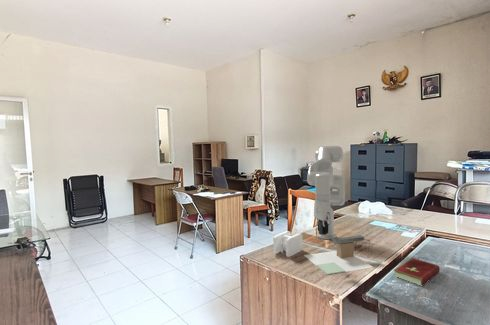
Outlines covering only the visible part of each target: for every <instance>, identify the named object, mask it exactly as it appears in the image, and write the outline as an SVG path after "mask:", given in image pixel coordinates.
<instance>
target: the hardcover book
mask: <svg viewBox="0 0 490 325" xmlns="http://www.w3.org/2000/svg"><path fill="white" fill-rule="evenodd" d="M440 270H441V269H440V265H438V264H435V263H432V262H429V261H425V260H422V259H417V258H414V257H411V258H410V259H408V260H407V261H404V262H403V263H402V264H400V265H398V266H397V267H395V268H394V269H393V271H394V277H395V276H396V277H395V278H397V277H399V278H402V279H405V280H408V281H411V282H414V283H417V284H420V285H423V284H424V285H426V284H427V283H428V282H429V281H430V280H432V279H433V278H434V277H435V276H437V275H438V274H439V273H440ZM438 272H439V273H438ZM437 273H438V274H437ZM436 274H437V275H436ZM433 276H434V277H433ZM432 277H433V278H432ZM399 278H398V279H399ZM431 278H432V279H431ZM402 279H401V280H402ZM405 280H404V281H405ZM428 280H429V281H428ZM408 281H407V282H408ZM427 281H428V282H427ZM411 282H410V283H411ZM426 282H427V283H426ZM425 283H426V284H425ZM424 285H423V286H424Z"/></svg>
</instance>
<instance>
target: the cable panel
mask: <svg viewBox="0 0 490 325" xmlns="http://www.w3.org/2000/svg"><path fill="white" fill-rule="evenodd" d="M354 246H355V243H354V242H349V243H341V244H336V250H332V251H325V252H319V253H311V254H304V255H303V256H304V257H305V258H306V259H308V260H309V261H310V262H311V263H312V264H314V266H315V267H317V268H319V269H320V270H321V271H322V272H323V273H325V275H328V276H330V275H334V274H335V275H336V274H341V273H346V272H353V271H360V270H364V269H371V268H373V265H371V264H369V263H368V262H366V261H364V260H362V259H360V258H359V257H357V256H356V255H354V254H355V248H354Z"/></svg>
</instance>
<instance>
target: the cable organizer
mask: <svg viewBox="0 0 490 325" xmlns="http://www.w3.org/2000/svg"><path fill="white" fill-rule="evenodd" d="M272 241H273V244H272V245H273V254H275V255H276V254H280V253H281V254H283V252H285V256H286V257H288V258H290V257H292V256H294V255H296V254H298V253H300V252H302V251H303V250H304V249H303V234H302V233H297V234H294V235H292V231H289V230H285V231H283V232H280V233H277V234H276V235H274V237H273V240H272Z"/></svg>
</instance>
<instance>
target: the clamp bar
mask: <svg viewBox="0 0 490 325" xmlns="http://www.w3.org/2000/svg"><path fill="white" fill-rule="evenodd" d="M331 240H332V241H331V242H332V243H333V244H335V245H337V244H341V243H349V242H353V243H354V242H363V241H365V236H363V235H352V236H351V235H350V236H346V237H343V236H342V237H336V238H335V239H331Z"/></svg>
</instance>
